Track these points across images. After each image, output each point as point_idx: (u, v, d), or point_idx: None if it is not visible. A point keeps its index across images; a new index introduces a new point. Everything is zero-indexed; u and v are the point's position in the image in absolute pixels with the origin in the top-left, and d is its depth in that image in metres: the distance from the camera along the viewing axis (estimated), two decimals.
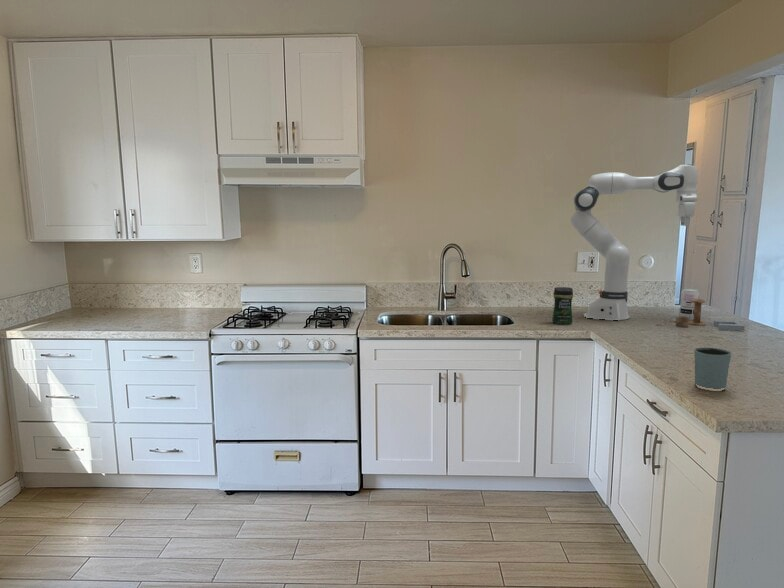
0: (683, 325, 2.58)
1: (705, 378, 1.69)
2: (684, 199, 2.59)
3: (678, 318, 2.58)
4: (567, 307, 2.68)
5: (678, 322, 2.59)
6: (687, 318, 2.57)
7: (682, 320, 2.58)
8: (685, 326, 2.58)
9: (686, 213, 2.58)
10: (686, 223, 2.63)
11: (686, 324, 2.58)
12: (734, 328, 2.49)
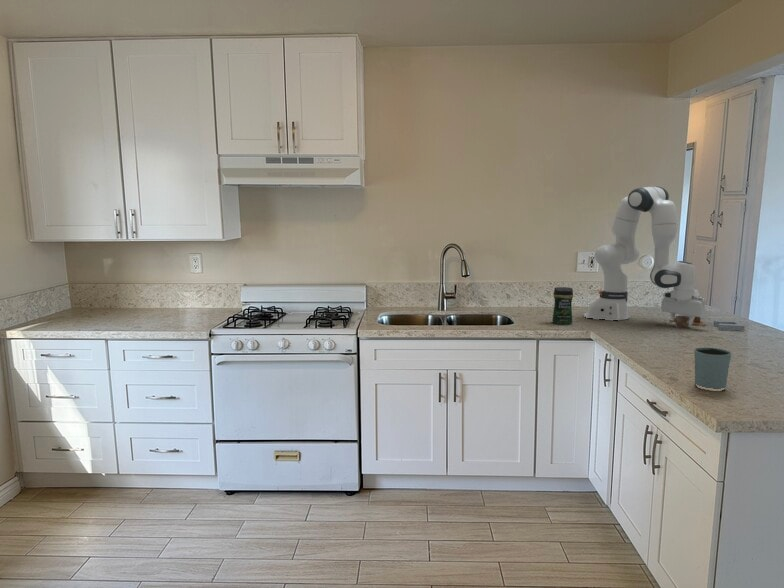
0: (683, 325, 2.58)
1: (705, 378, 1.69)
2: None
3: (678, 318, 2.58)
4: (567, 307, 2.68)
5: (678, 322, 2.59)
6: (687, 318, 2.57)
7: (682, 320, 2.58)
8: (685, 326, 2.58)
9: None
10: None
11: (686, 324, 2.58)
12: (734, 328, 2.49)
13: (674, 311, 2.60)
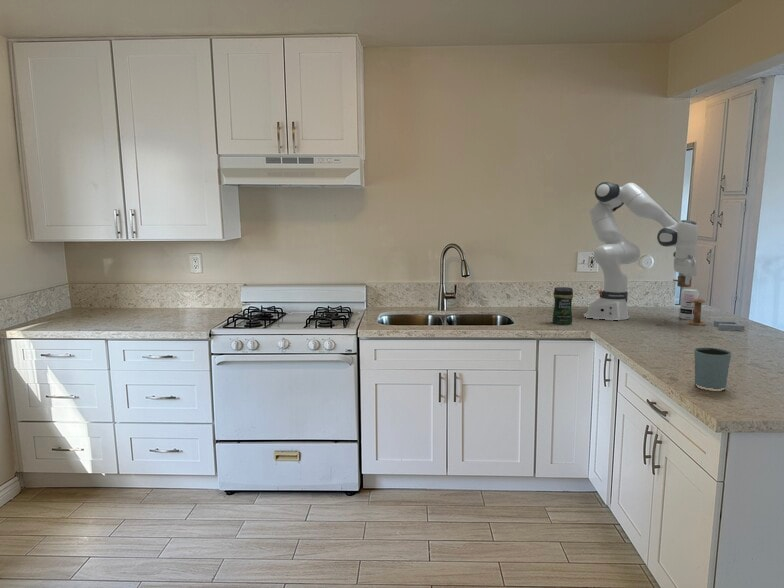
0: (683, 284, 2.58)
1: (705, 378, 1.69)
2: None
3: (679, 277, 2.60)
4: (567, 307, 2.68)
5: (678, 281, 2.60)
6: None
7: (682, 279, 2.59)
8: (684, 285, 2.58)
9: None
10: None
11: (685, 284, 2.57)
12: (734, 328, 2.49)
13: (678, 270, 2.62)
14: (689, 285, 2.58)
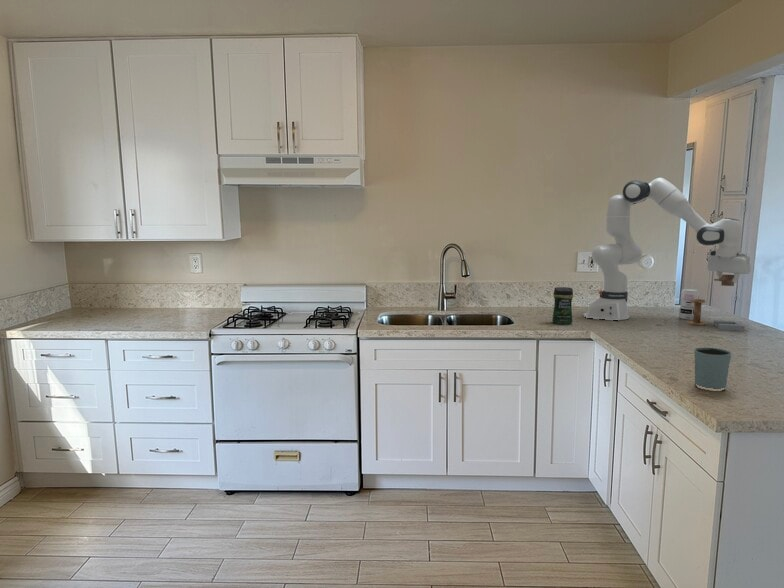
0: (728, 283, 2.53)
1: (705, 378, 1.69)
2: None
3: (723, 276, 2.54)
4: (567, 307, 2.68)
5: (723, 280, 2.54)
6: (732, 276, 2.52)
7: (727, 278, 2.53)
8: (730, 284, 2.53)
9: None
10: None
11: (731, 282, 2.52)
12: (734, 328, 2.49)
13: (719, 269, 2.56)
14: (733, 283, 2.53)
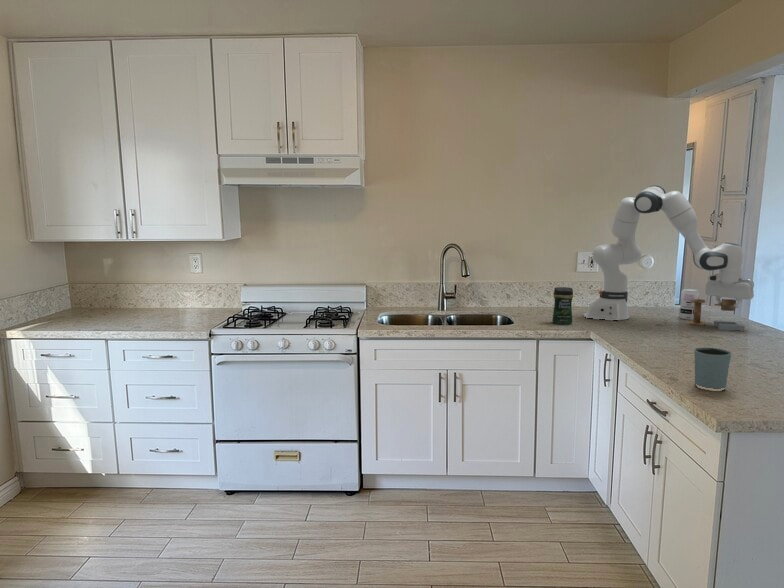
0: (729, 308, 2.52)
1: (705, 378, 1.69)
2: None
3: (724, 301, 2.52)
4: (567, 307, 2.68)
5: (724, 305, 2.52)
6: (734, 301, 2.51)
7: (728, 303, 2.52)
8: (732, 309, 2.52)
9: None
10: None
11: (733, 307, 2.51)
12: (734, 328, 2.49)
13: (720, 294, 2.54)
14: None
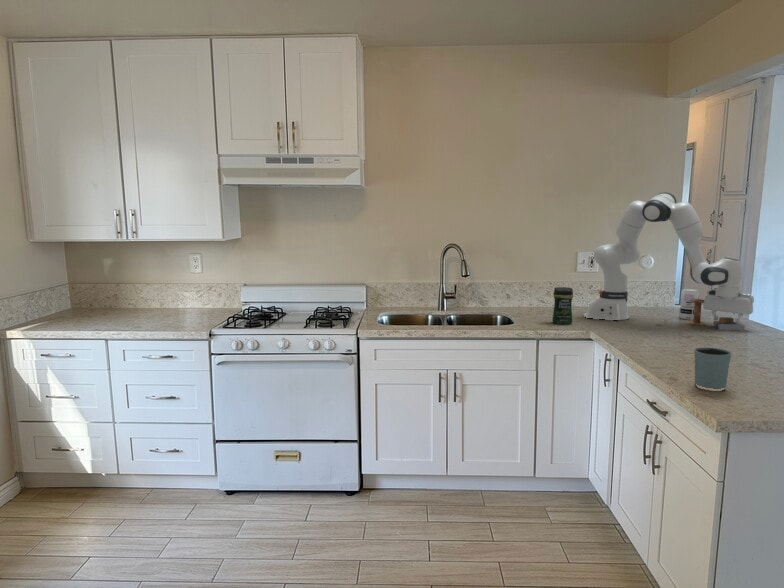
0: None
1: (705, 378, 1.69)
2: None
3: (723, 319, 2.54)
4: (567, 307, 2.68)
5: (723, 323, 2.54)
6: (732, 319, 2.53)
7: (727, 321, 2.53)
8: None
9: None
10: None
11: None
12: (734, 328, 2.49)
13: (718, 309, 2.55)
14: None
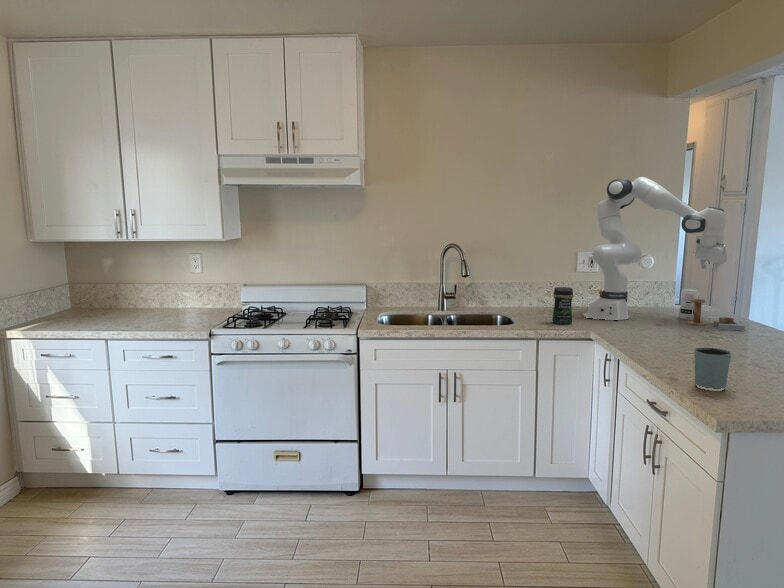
0: None
1: (705, 378, 1.69)
2: None
3: (723, 319, 2.54)
4: (567, 307, 2.68)
5: (723, 323, 2.54)
6: (732, 319, 2.53)
7: (727, 321, 2.53)
8: None
9: None
10: None
11: None
12: (734, 328, 2.49)
13: (702, 258, 2.59)
14: None
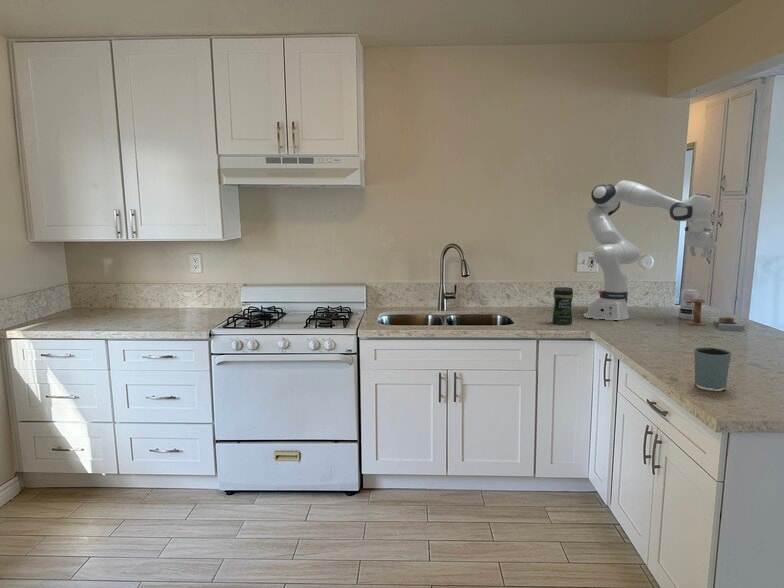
0: None
1: (705, 378, 1.69)
2: None
3: (723, 319, 2.54)
4: (567, 307, 2.68)
5: (723, 323, 2.54)
6: (732, 319, 2.53)
7: (727, 321, 2.53)
8: None
9: None
10: None
11: None
12: (734, 328, 2.49)
13: (692, 244, 2.63)
14: None
